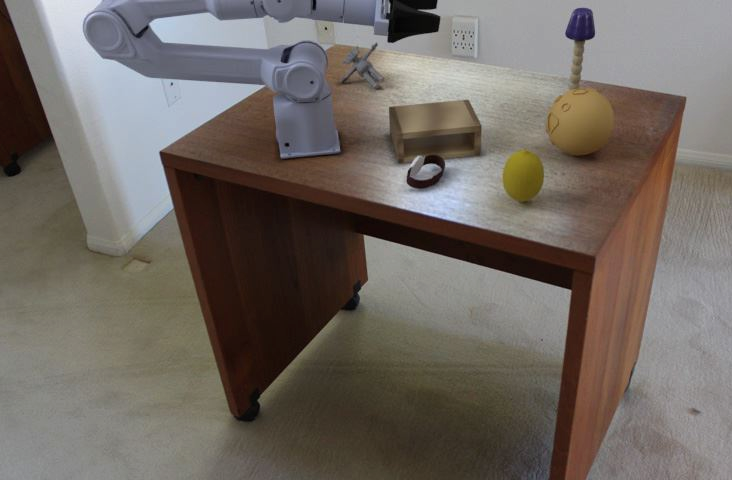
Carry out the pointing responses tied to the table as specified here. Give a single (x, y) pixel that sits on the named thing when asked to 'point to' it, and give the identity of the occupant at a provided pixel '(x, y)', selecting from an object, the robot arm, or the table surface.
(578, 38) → the toy lamp
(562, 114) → the stress ball
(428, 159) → the watch
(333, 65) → the table surface
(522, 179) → the lemon
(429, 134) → the shelf
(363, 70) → the gray toy figurine
